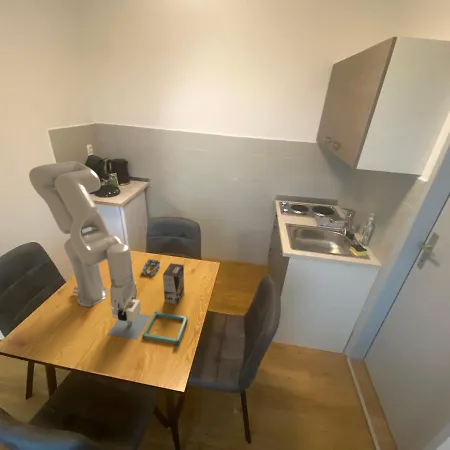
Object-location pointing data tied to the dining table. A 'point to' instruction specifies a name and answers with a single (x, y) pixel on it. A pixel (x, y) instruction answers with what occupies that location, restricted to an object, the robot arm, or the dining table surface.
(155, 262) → the grey chain bracelet
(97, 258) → the robot arm
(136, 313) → the white hollow rectangular block
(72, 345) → the dining table surface
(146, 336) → the tray
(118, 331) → the grey plate with peg
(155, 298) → the dining table surface
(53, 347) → the dining table surface
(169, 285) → the coffee box
